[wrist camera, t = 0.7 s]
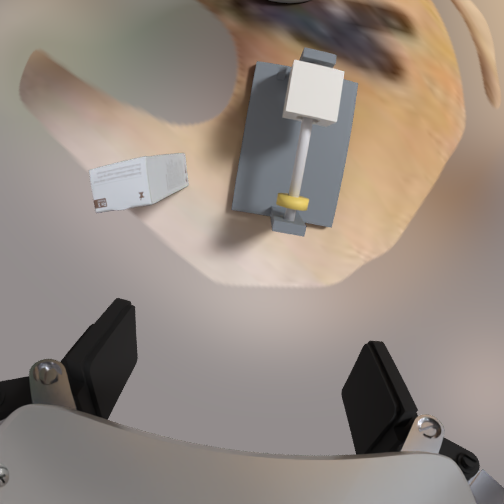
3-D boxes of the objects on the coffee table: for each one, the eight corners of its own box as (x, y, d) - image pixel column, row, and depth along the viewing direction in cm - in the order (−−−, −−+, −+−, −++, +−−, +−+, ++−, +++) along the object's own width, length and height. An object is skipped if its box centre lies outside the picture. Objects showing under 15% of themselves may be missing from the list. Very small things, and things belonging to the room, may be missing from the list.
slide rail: (257, 63, 29) (255, 37, 21) (355, 85, 29) (381, 67, 21) (232, 208, 35) (223, 224, 27) (329, 225, 35) (348, 246, 27)
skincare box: (185, 151, 33) (147, 150, 21) (190, 187, 34) (155, 205, 23) (139, 160, 33) (86, 165, 22) (143, 194, 34) (94, 215, 23)
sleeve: (289, 73, 25) (294, 59, 21) (333, 82, 25) (344, 71, 21) (282, 117, 27) (285, 110, 22) (325, 126, 27) (336, 122, 23)
